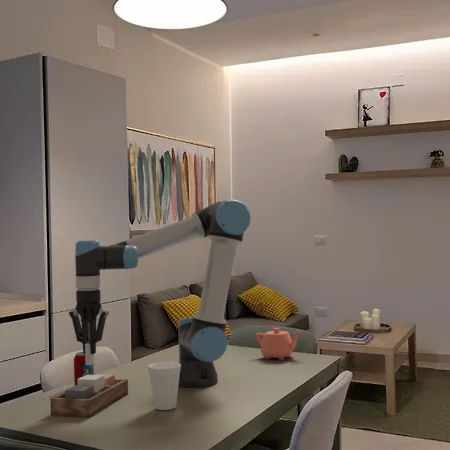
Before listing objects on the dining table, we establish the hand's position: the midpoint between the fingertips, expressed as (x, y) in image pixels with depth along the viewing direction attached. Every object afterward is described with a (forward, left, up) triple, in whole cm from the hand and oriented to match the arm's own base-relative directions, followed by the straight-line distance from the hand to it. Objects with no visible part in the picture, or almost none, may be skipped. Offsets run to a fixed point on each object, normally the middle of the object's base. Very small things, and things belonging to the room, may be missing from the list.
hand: (89, 364), depth 193 cm
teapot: (-45, -77, -13) cm, 90 cm away
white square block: (0, 0, -8) cm, 8 cm away
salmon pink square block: (0, -8, -10) cm, 12 cm away
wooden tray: (0, 0, -13) cm, 13 cm away
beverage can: (+13, -19, -13) cm, 26 cm away
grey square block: (0, +7, -10) cm, 12 cm away
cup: (-25, 0, -13) cm, 28 cm away
